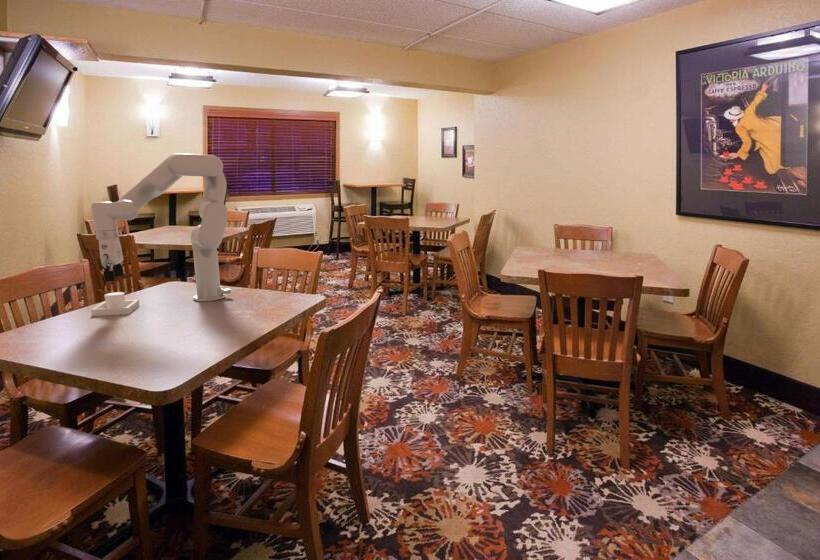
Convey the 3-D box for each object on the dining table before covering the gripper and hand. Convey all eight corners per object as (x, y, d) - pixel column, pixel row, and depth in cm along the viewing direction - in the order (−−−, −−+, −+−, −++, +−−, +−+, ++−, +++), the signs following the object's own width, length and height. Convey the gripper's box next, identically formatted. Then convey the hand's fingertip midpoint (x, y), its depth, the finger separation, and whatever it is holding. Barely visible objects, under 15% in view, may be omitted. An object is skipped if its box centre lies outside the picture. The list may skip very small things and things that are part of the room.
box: (139, 305, 200) (138, 299, 200) (129, 314, 188) (128, 307, 188) (104, 307, 198) (103, 301, 197) (91, 316, 186) (91, 309, 185)
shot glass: (130, 310, 194) (128, 293, 192) (112, 314, 188) (109, 296, 186) (120, 307, 197) (118, 290, 196) (102, 311, 192) (100, 294, 190)
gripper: (110, 237, 179) (117, 282, 183) (125, 231, 196) (132, 273, 200) (87, 238, 178) (95, 284, 182) (105, 232, 194) (112, 274, 198)
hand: (114, 278), depth 191 cm, fingers open, 9 cm apart
